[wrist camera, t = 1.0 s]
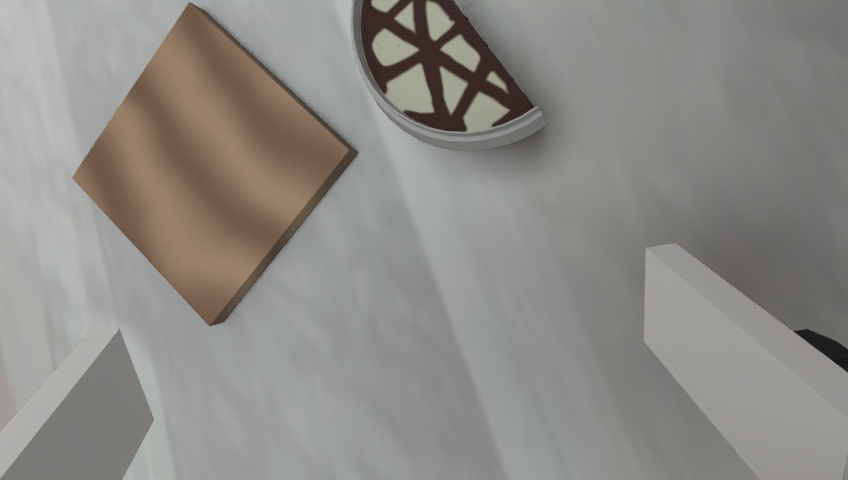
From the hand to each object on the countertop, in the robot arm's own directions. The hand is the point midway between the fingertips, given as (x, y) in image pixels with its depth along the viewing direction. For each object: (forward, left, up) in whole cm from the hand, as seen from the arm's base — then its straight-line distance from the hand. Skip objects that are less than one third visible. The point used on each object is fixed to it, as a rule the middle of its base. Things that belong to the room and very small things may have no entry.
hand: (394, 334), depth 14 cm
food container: (-6, -10, -22) cm, 25 cm away
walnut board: (+9, -21, -22) cm, 32 cm away
